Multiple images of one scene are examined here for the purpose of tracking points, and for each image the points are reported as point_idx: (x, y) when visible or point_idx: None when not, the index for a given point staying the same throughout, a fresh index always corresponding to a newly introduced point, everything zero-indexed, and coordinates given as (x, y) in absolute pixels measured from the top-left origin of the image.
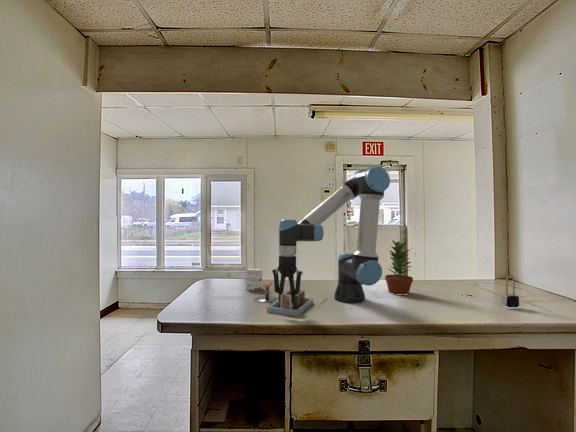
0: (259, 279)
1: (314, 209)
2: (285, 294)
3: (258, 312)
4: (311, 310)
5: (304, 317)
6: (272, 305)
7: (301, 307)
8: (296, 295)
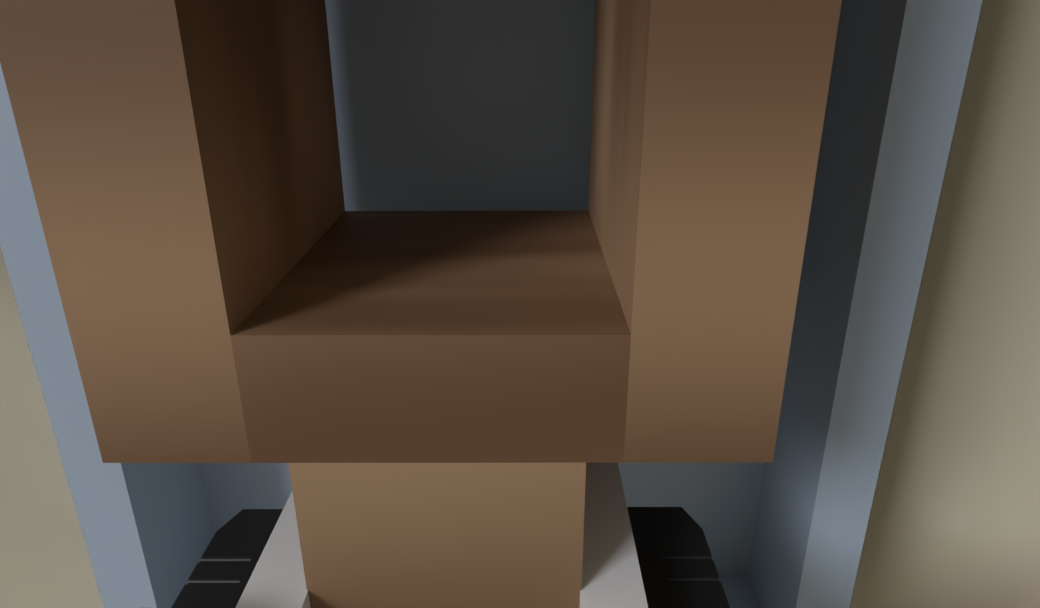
0: None
1: None
2: (261, 461)
3: (15, 569)
4: (981, 32)
5: (879, 516)
6: (151, 552)
7: (857, 495)
8: (733, 435)
